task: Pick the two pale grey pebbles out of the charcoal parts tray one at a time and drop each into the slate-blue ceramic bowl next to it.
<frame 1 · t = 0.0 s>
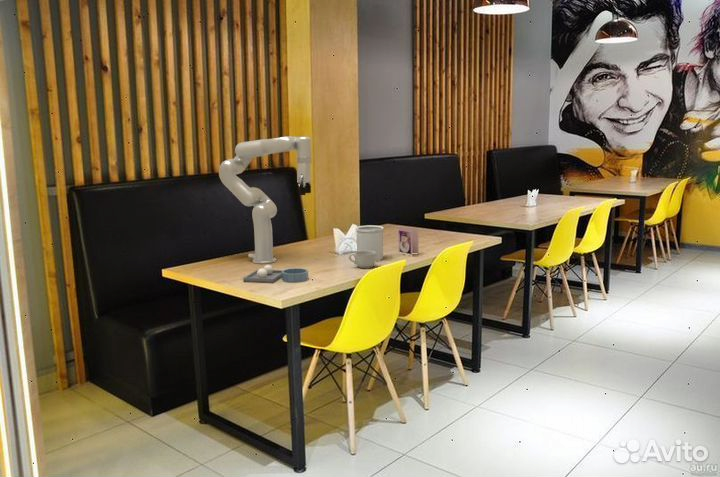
hand: (305, 194, 333), 37 cm above the table, tool pointing down, fingers open, 9 cm apart
teacup: (362, 267, 328), on the table
parts tray: (265, 278, 307), on the table
pebble b: (267, 269, 310), point 3 cm above the table, touching parts tray
utensil holder: (370, 259, 347), on the table
bowl: (295, 279, 303), on the table
pebble a: (262, 273, 302), point 3 cm above the table, touching parts tray
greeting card: (409, 254, 358), on the table
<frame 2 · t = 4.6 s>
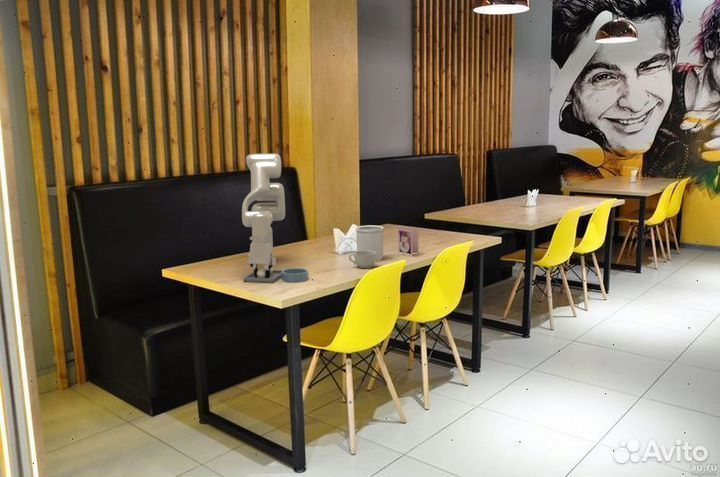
hand: (262, 277, 302), 1 cm above the table, tool pointing down, fingers closed on pebble a, 4 cm apart
pebble a: (262, 273, 302), point 3 cm above the table, touching gripper, parts tray
everything else where it was.
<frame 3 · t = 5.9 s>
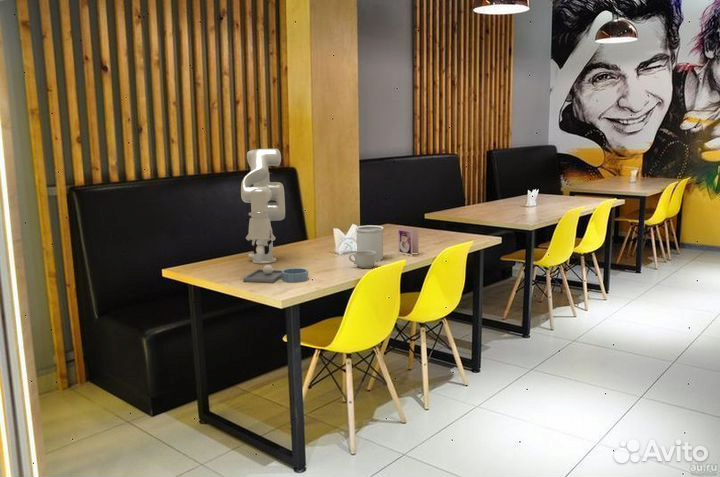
hand: (261, 253, 301), 13 cm above the table, tool pointing down, fingers closed on pebble a, 4 cm apart
pebble a: (261, 249, 300), point 15 cm above the table, touching gripper
everything else where it was.
when the fingers open (6 cm above the table, at t = 7.3 s): pebble a drops 5 cm, resting on bowl.
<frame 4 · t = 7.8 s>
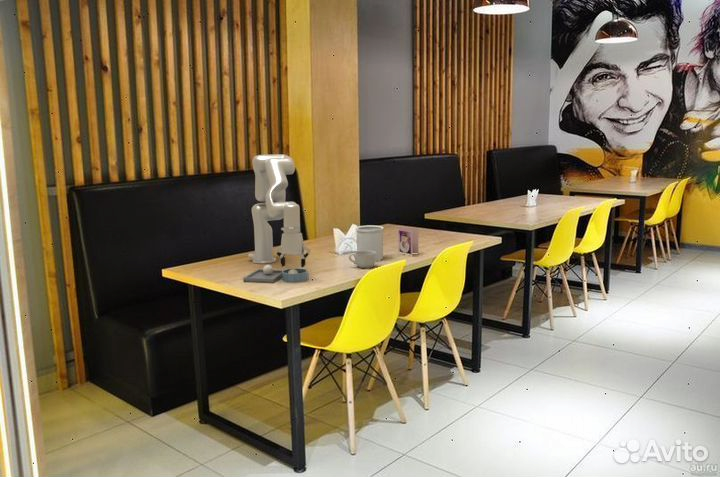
hand: (293, 266, 300), 7 cm above the table, tool pointing down, fingers open, 9 cm apart
pebble a: (293, 274, 301), point 3 cm above the table, tilted 6°, touching bowl
everything else where it was.
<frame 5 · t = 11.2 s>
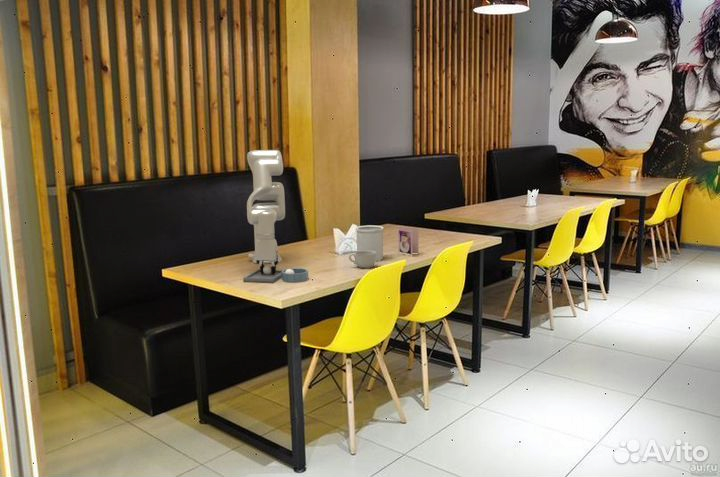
hand: (268, 273, 310), 1 cm above the table, tool pointing down, fingers closed on pebble b, 4 cm apart
pebble b: (267, 269, 310), point 3 cm above the table, touching gripper, parts tray
pebble a: (289, 274, 301), point 3 cm above the table, tilted 47°, touching bowl
everything else where it was.
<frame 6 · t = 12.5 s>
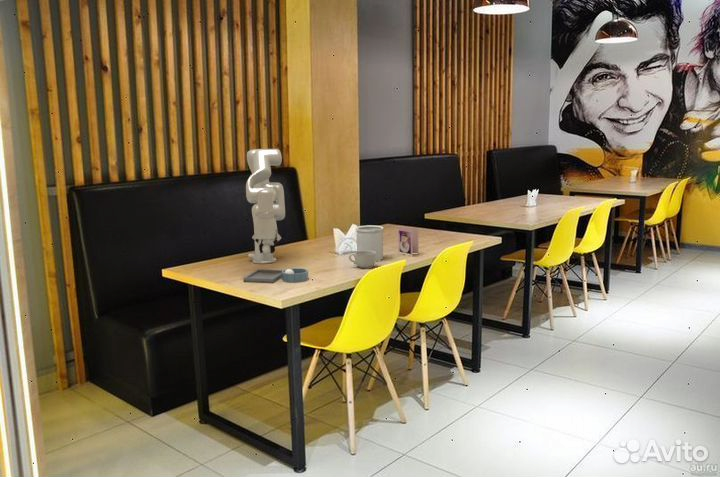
hand: (267, 252, 309), 12 cm above the table, tool pointing down, fingers closed on pebble b, 4 cm apart
pebble b: (267, 248, 309), point 14 cm above the table, touching gripper
everything else where it was.
when the fingers open (6 cm above the table, at t = 14.1 s): pebble b drops 5 cm, resting on bowl.
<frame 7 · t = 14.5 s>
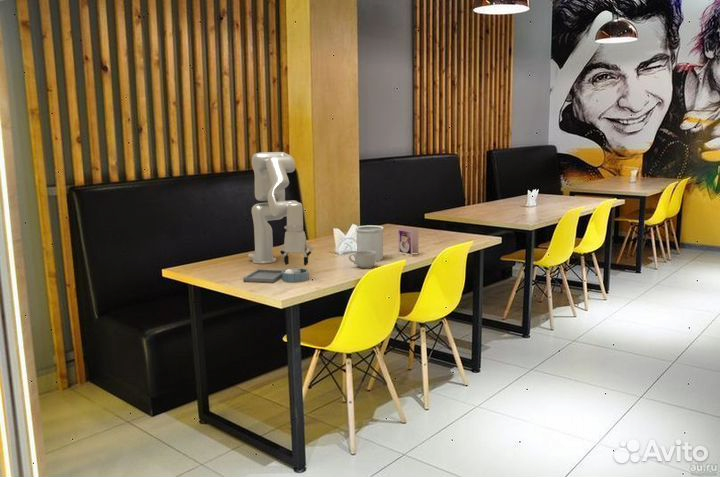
hand: (296, 264, 304), 7 cm above the table, tool pointing down, fingers open, 9 cm apart
pebble b: (296, 272, 305), point 3 cm above the table, tilted 5°, touching bowl
everything else where it was.
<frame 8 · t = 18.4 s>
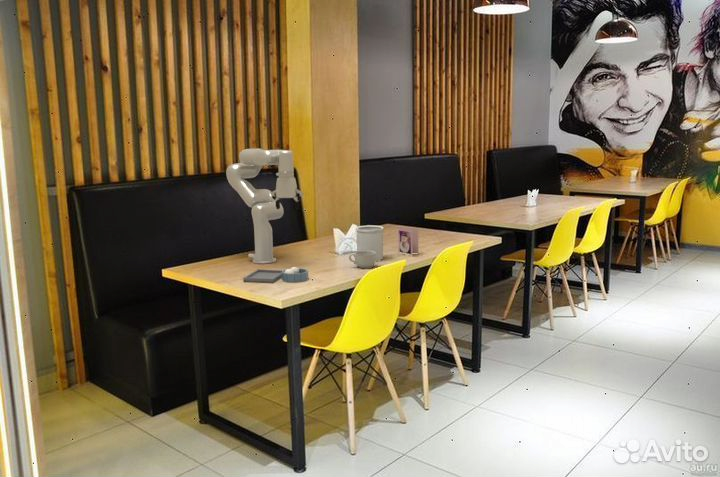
hand: (287, 209, 324), 30 cm above the table, tool pointing down, fingers open, 9 cm apart
pebble b: (294, 271, 306), point 3 cm above the table, tilted 32°, touching bowl
everything else where it was.
at the end: pebble a inside the target area on the bowl (3.1 cm from its centre), point 3.0 cm above the bowl's base; pebble b inside the target area on the bowl (3.0 cm from its centre), point 3.0 cm above the bowl's base; the gripper is holding nothing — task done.
